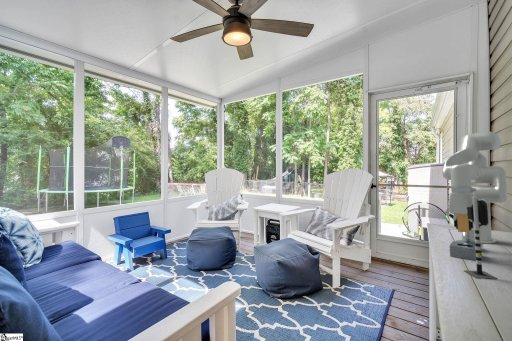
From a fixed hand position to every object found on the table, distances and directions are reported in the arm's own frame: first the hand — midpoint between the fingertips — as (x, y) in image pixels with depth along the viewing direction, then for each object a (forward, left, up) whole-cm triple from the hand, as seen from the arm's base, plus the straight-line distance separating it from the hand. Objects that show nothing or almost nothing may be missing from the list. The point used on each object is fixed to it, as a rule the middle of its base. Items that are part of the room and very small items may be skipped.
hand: (463, 228), depth 114 cm
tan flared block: (0, 0, -1) cm, 1 cm away
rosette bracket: (-8, 0, -13) cm, 15 cm away
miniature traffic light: (+24, +7, -13) cm, 28 cm away
